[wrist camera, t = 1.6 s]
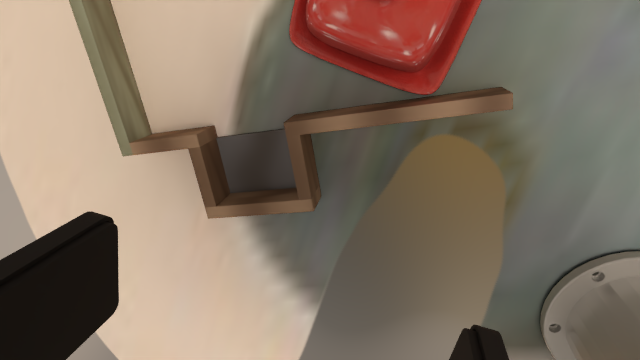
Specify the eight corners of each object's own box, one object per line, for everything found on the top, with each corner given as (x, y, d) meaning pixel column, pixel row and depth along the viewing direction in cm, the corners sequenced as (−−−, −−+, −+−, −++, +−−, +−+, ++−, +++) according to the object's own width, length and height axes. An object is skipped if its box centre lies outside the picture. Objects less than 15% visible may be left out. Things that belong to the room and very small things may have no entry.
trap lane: (496, -354, 19) (511, -418, 17) (502, 181, 29) (512, 197, 26) (41, -175, 26) (-1, -200, 24) (165, 208, 36) (145, 222, 33)
